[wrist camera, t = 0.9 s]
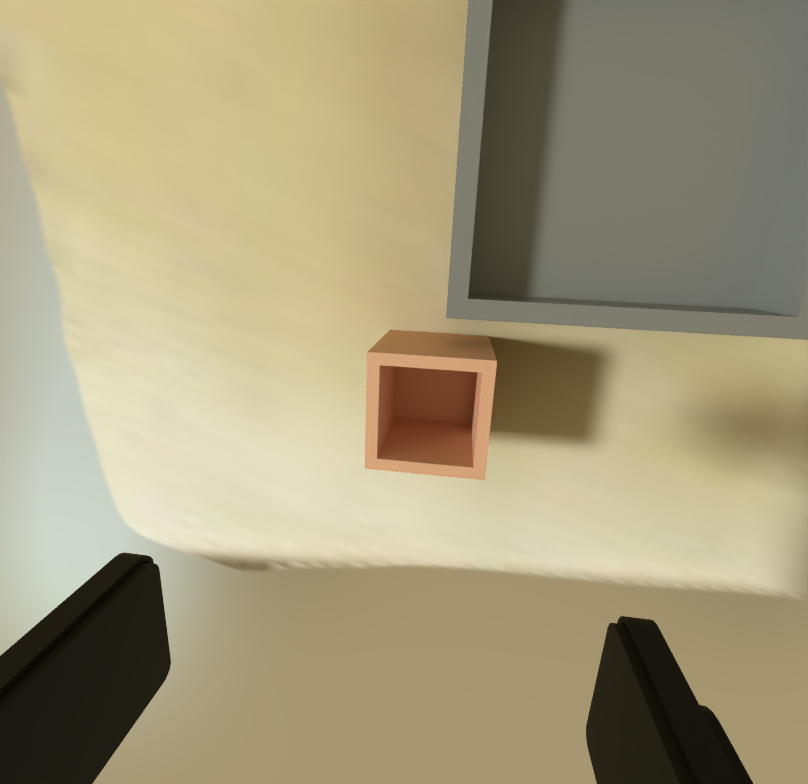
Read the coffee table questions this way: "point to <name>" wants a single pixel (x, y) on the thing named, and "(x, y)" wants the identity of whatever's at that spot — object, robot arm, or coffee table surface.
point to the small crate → (429, 403)
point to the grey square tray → (634, 166)
